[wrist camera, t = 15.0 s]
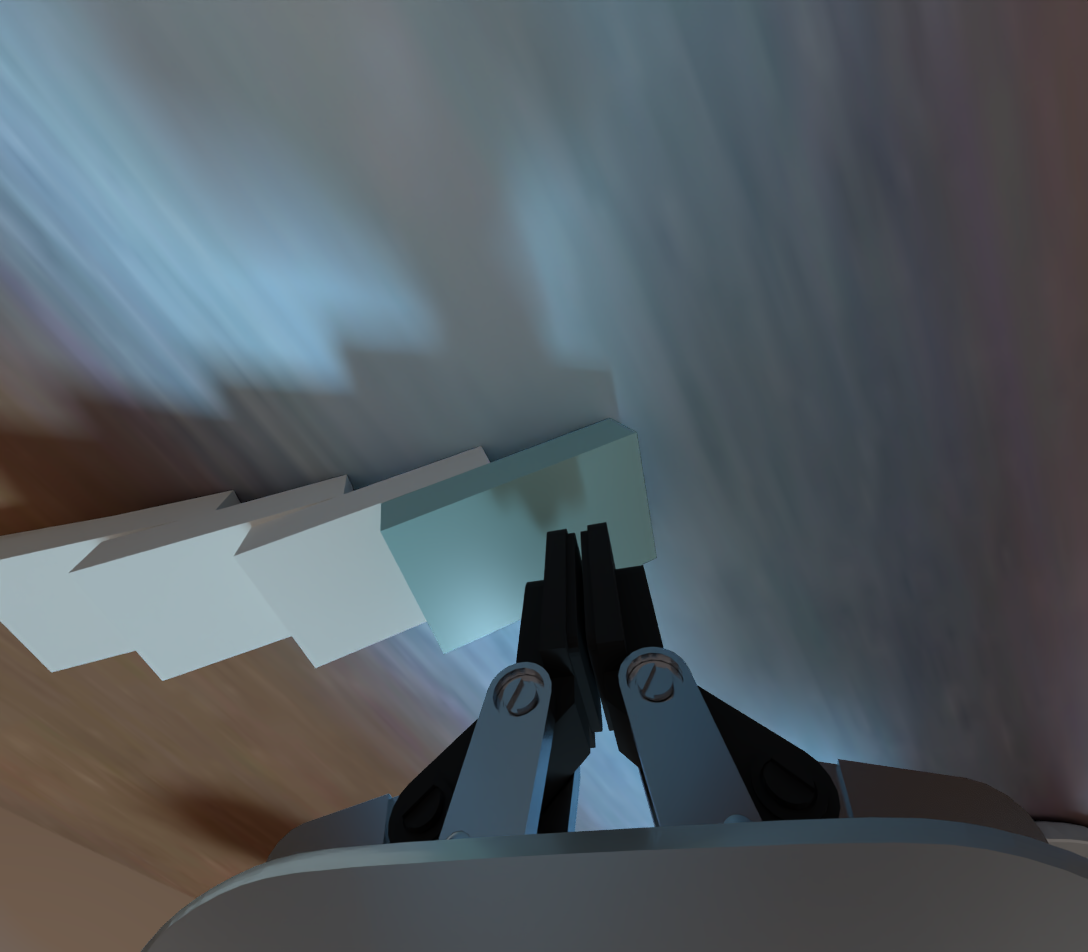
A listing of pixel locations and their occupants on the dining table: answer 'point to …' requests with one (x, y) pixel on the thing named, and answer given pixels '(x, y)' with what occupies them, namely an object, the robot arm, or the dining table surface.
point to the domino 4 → (515, 526)
